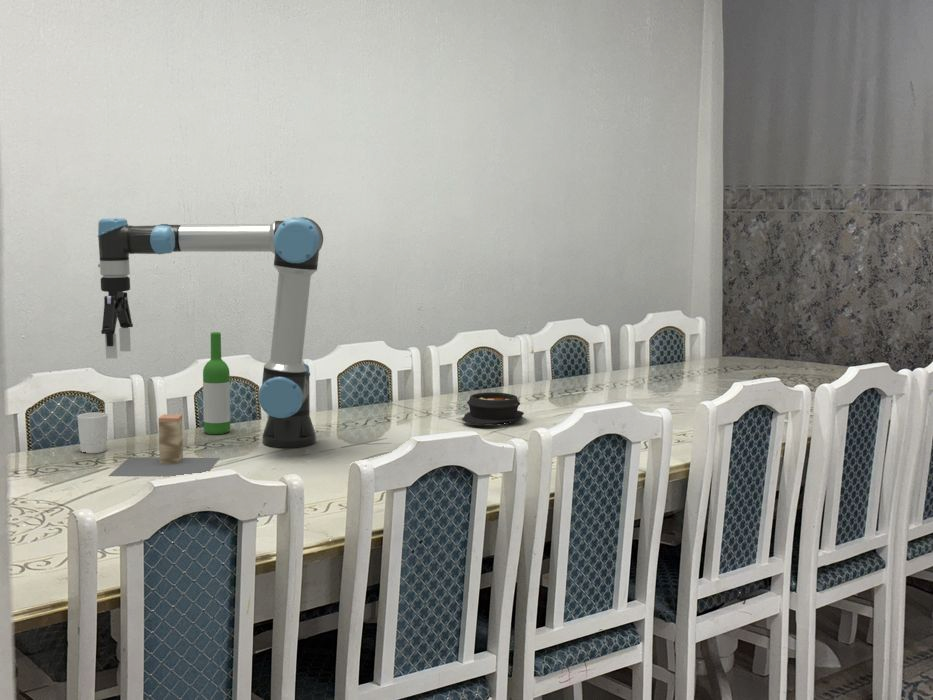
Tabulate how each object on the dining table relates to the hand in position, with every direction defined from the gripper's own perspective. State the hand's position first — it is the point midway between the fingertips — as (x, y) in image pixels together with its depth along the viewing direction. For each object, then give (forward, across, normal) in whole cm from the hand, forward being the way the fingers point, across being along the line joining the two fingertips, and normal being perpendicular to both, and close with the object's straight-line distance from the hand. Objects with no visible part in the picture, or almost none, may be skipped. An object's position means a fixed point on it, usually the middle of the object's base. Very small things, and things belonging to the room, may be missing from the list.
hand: (118, 354), depth 293 cm
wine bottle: (+28, -26, +21) cm, 43 cm away
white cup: (+27, -1, -8) cm, 28 cm away
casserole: (+29, -45, +105) cm, 118 cm away
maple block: (+27, +12, +16) cm, 33 cm away
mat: (+27, +18, +16) cm, 36 cm away
